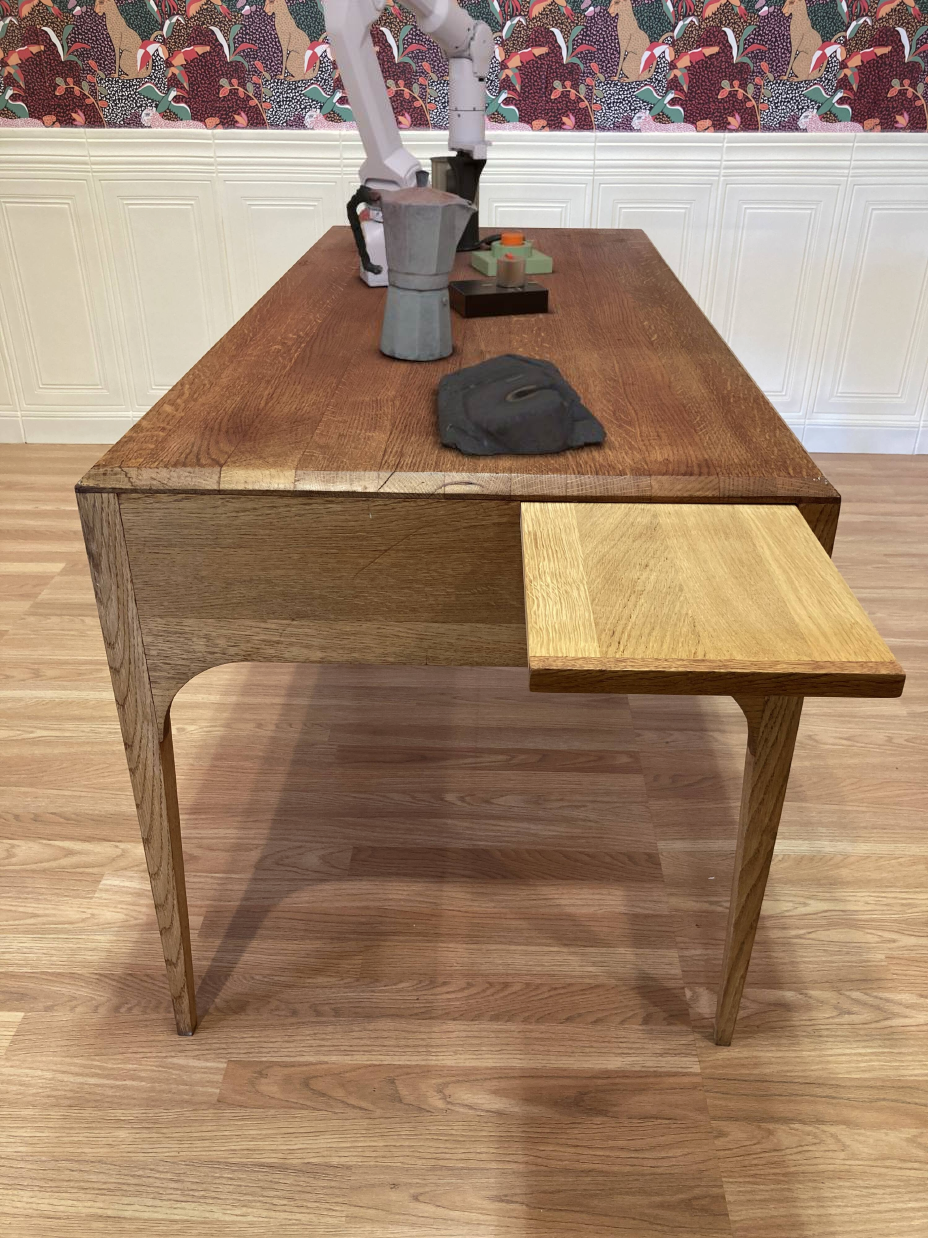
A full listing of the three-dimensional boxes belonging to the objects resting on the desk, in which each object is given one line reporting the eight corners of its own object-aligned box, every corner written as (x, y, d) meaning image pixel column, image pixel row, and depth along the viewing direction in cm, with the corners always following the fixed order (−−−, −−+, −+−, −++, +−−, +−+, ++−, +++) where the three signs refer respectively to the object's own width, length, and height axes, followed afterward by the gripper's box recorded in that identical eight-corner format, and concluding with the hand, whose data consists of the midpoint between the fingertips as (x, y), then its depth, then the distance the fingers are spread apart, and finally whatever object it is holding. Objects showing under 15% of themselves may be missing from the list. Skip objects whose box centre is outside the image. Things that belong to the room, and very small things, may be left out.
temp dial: (528, 286, 133) (530, 257, 131) (501, 288, 132) (502, 259, 130) (519, 280, 137) (520, 252, 135) (492, 282, 136) (493, 253, 134)
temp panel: (465, 317, 130) (465, 293, 129) (446, 302, 138) (446, 279, 136) (548, 312, 133) (549, 288, 132) (526, 297, 141) (526, 275, 139)
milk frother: (424, 243, 178) (423, 155, 170) (504, 239, 182) (506, 153, 175) (445, 257, 166) (445, 163, 159) (531, 253, 171) (534, 161, 163)
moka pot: (467, 367, 110) (470, 176, 100) (339, 358, 113) (328, 171, 103) (483, 345, 118) (486, 166, 108) (362, 337, 121) (354, 162, 111)
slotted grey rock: (571, 381, 106) (573, 337, 104) (610, 453, 87) (615, 402, 85) (432, 383, 105) (431, 339, 103) (442, 457, 86) (442, 405, 84)
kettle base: (488, 276, 154) (488, 249, 152) (471, 265, 161) (471, 240, 159) (552, 272, 156) (553, 246, 154) (532, 262, 164) (533, 237, 162)
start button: (505, 248, 155) (505, 236, 154) (497, 244, 158) (498, 233, 157) (526, 247, 156) (526, 235, 155) (518, 243, 159) (519, 232, 158)
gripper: (506, 112, 145) (503, 209, 152) (477, 106, 157) (476, 196, 164) (461, 112, 144) (461, 210, 151) (435, 107, 156) (436, 198, 163)
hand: (466, 203), depth 157 cm, fingers closed
